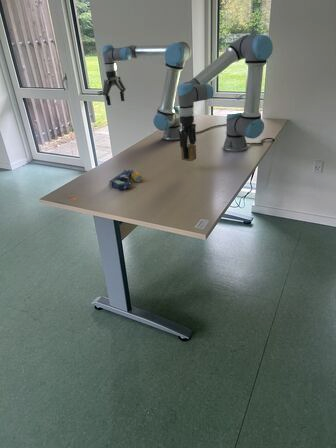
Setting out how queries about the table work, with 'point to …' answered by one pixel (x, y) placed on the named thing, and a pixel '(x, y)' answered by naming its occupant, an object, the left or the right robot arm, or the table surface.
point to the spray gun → (124, 179)
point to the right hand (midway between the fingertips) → (189, 156)
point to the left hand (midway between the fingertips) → (116, 103)
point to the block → (190, 152)
